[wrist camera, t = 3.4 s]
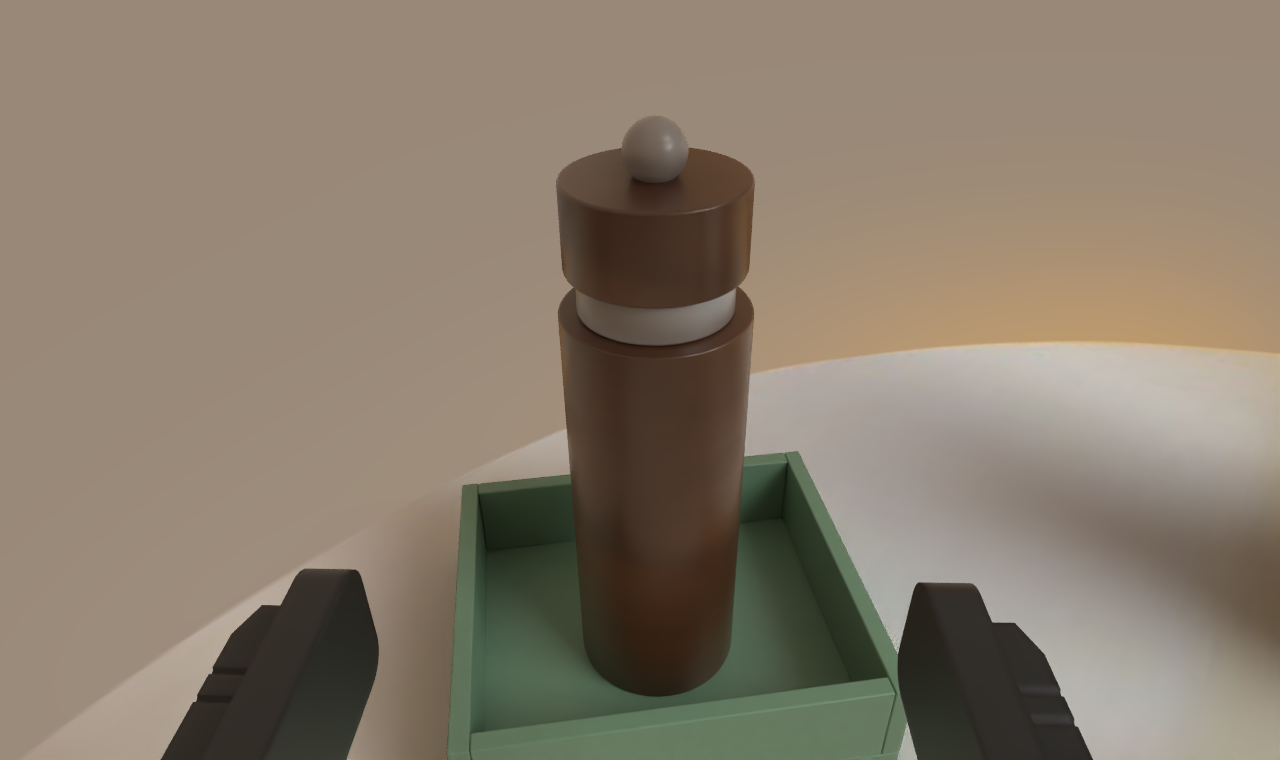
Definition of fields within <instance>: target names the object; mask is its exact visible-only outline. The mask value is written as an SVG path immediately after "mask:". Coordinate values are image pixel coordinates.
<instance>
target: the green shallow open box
mask: <svg viewBox="0 0 1280 760" xmlns="http://www.w3.org/2000/svg"><path fill="white" fill-rule="evenodd" d="M897 664H898V654H897V652H896V650H895V648H894V646H893V644H892V642H891V640H890V638H889V636H888V634H887V632H886V630H885V628H884V626H883V624H882V621H881V619H880V617H879V615H878V613H877V611H876V609H875V607H874V605H873V603H872V601H871V599H870V597H869V595H868V593H867V591H866V589H865V587H864V585H863V583H862V581H861V579H860V577H859V575H858V572H857V570H856V568H855V566H854V564H853V562H852V560H851V558H850V556H849V554H848V552H847V550H846V548H845V546H844V544H843V542H842V540H841V538H840V536H839V534H838V532H837V530H836V528H835V526H834V524H833V521H832V519H831V517H830V515H829V513H828V511H827V509H826V507H825V505H824V503H823V501H822V499H821V497H820V495H819V493H818V491H817V489H816V487H815V485H814V483H813V481H812V479H811V477H810V475H809V473H808V470H807V468H806V466H805V464H804V462H803V460H802V458H801V456H800V454H799V452H797V451H796V452H787V453H785V454H784V453H777V454H767V455H757V456H747V457H744V465H743V479H742V493H741V508H740V522H739V536H738V551H737V565H736V579H735V594H734V608H733V622H732V637H731V646H730V650H729V653H728V656H727V658H726V660H725V662H724V664H723V665H722V667H721V668H720V669H719V671H718V672H717V673H716V674H715V675H714V676H713V677H712V678H710V679H709V680H708V681H707V682H705V683H704V684H702V685H701V686H699V687H697V688H695V689H693V690H690V691H688V692H685V693H681V694H677V695H672V696H663V697H653V696H644V695H638V694H634V693H631V692H628V691H625V690H623V689H620V688H618V687H617V686H615V685H613V684H611V683H610V682H609V681H607V680H606V679H605V678H603V677H602V676H601V675H600V674H599V673H598V672H597V670H596V669H595V668H594V666H593V665H592V664H591V662H590V660H589V658H588V656H587V653H586V651H585V646H584V641H583V628H582V615H581V602H580V590H579V577H578V564H577V551H576V539H575V526H574V513H573V500H572V488H571V475H561V476H551V477H541V478H532V479H522V480H512V481H502V482H492V483H482V484H479V486H478V484H470V485H463V486H462V501H461V518H460V535H459V552H458V569H457V587H456V604H455V621H454V638H453V655H452V672H451V689H450V706H449V723H448V741H447V758H448V760H897V758H898V754H899V752H898V751H899V750H900V747H901V743H902V739H903V735H904V732H905V728H906V724H907V718H906V714H905V711H904V707H903V703H902V699H901V695H900V690H899V683H898V670H897Z"/></svg>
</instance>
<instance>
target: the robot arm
mask: <svg viewBox="0 0 1280 760" xmlns="http://www.w3.org/2000/svg"><path fill="white" fill-rule="evenodd" d="M378 656H379V646H378V638H377V634H376V630H375V626H374V623H373V619H372V615H371V611H370V608H369V604H368V600H367V596H366V593H365V589H364V585H363V582H362V578H361V575H360V574H359V572H358V571H357V570H350V569H303V570H301V571H300V572H299V573H298V574H297V576H296V577H295V579H294V581H293V583H292V584H291V586H290V588H289V590H288V592H287V594H286V596H285V598H284V600H283V602H282V604H281V606H274V605H262V606H261V607H260V608H259V609H258V610H256V611H255V612H254V613H253V614H252V615H251V616H250V617H249V618H248V619H247V620H246V621H245V622H244V623H243V624H242V625H241V626H239V627H238V628H237V629H236V630H235V631H234V632H233V633H232V634H231V636H230V637H229V639H228V641H227V643H226V645H225V646H224V648H223V650H222V652H221V653H220V655H219V657H218V659H217V661H216V662H215V664H214V666H213V672H212V674H209V675H208V677H207V678H206V680H205V682H204V684H203V685H202V687H201V689H200V691H199V693H198V694H197V701H196V702H193V703H192V705H191V707H190V709H189V710H188V712H187V714H186V716H185V717H184V719H183V721H182V723H181V725H180V726H179V728H178V730H177V732H176V733H175V735H174V737H173V739H172V741H171V742H170V744H169V746H168V748H167V749H166V751H165V753H164V755H163V757H162V758H161V760H346V759H347V756H348V753H349V750H350V747H351V745H352V742H353V739H354V736H355V734H356V731H357V728H358V725H359V722H360V720H361V717H362V714H363V711H364V708H365V706H366V703H367V700H368V697H369V694H370V692H371V689H372V686H373V683H374V680H375V676H376V672H377V666H378ZM897 670H898V683H899V690H900V695H901V699H902V703H903V707H904V711H905V714H906V718H907V722H908V726H909V729H910V733H911V737H912V740H913V744H914V748H915V752H916V755H917V759H918V760H1093V759H1092V757H1091V754H1090V752H1089V750H1088V748H1087V746H1086V744H1085V741H1084V739H1083V737H1082V735H1081V733H1080V731H1079V728H1078V727H1075V725H1074V718H1073V715H1072V713H1071V711H1070V709H1069V707H1068V705H1067V702H1066V700H1065V698H1064V697H1062V696H1061V694H1060V690H1061V689H1060V687H1059V685H1058V683H1057V681H1056V679H1055V676H1054V674H1053V672H1052V670H1051V668H1050V666H1049V663H1048V661H1047V659H1046V657H1045V655H1044V653H1043V652H1042V651H1041V650H1040V649H1039V648H1038V647H1037V646H1036V645H1035V644H1034V643H1033V642H1032V641H1031V640H1030V639H1029V638H1028V636H1027V635H1026V634H1025V633H1024V632H1023V631H1022V630H1021V629H1020V628H1019V627H1018V626H1017V625H1016V624H1015V623H992V621H991V619H990V616H989V614H988V611H987V609H986V607H985V604H984V602H983V599H982V597H981V595H980V593H979V591H978V589H977V588H976V586H975V585H973V584H970V583H922V582H919V583H917V584H916V586H915V588H914V591H913V595H912V599H911V603H910V607H909V611H908V615H907V619H906V623H905V627H904V631H903V636H902V640H901V644H900V648H899V653H898V664H897Z"/></svg>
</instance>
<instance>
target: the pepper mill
mask: <svg viewBox="0 0 1280 760" xmlns="http://www.w3.org/2000/svg"><path fill="white" fill-rule="evenodd" d="M754 186H755V180H754V177H753V174H752V173H751V170H750V169H748V167H747V166H745V165H744V164H742V163H741V162H739V161H737V160H735V159H733V158H730V157H728V156H725V155H722V154H718V153H715V152H711V151H706V150H700V149H694V148H688V141H687V138H686V136H685V134H684V132H683V131H682V129H681V128H680V127H679V126H678V125H677V124H676V123H675V122H674V121H672V120H670V119H668V118H665V117H662V116H649V117H645V118H642V119H640V120H638V121H637V122H636V123H634V124H633V125H632V126H631V127H630V128H629V129H628V131H627V133H626V134H625V136H624V139H623V143H622V148H620V149H614V150H609V151H604V152H600V153H596V154H593V155H589V156H586V157H584V158H581V159H579V160H577V161H574V162H572V163H571V164H569V165H568V166H566V167H565V168H564V169H563V170H562V171H561V172H560V173H559V175H558V178H557V181H556V188H557V203H558V216H559V231H560V244H561V258H562V270H563V273H564V276H565V278H566V279H567V281H568V282H569V283H570V284H571V285H572V286H573V287H574V288H573V289H571V290H570V291H569V292H568V293H567V294H566V295H565V297H564V298H563V300H562V301H561V303H560V306H559V309H558V321H559V335H560V346H561V360H562V373H563V386H564V398H565V411H566V422H567V423H566V424H567V437H568V449H569V462H570V475H571V488H572V500H573V513H574V526H575V539H576V551H577V564H578V577H579V590H580V602H581V615H582V628H583V641H584V646H585V651H586V653H587V656H588V658H589V660H590V662H591V664H592V665H593V666H594V668H595V669H596V670H597V672H598V673H599V674H600V675H601V676H602V677H603V678H605V679H606V680H607V681H609V682H610V683H611V684H613V685H615V686H617V687H618V688H620V689H623V690H625V691H628V692H631V693H634V694H638V695H644V696H653V697H663V696H672V695H677V694H681V693H685V692H688V691H690V690H693V689H695V688H697V687H699V686H701V685H702V684H704V683H705V682H707V681H708V680H709V679H710V678H712V677H713V676H714V675H715V674H716V673H717V672H718V671H719V669H720V668H721V667H722V665H723V664H724V662H725V660H726V658H727V656H728V653H729V650H730V646H731V637H732V622H733V608H734V594H735V579H736V565H737V551H738V536H739V522H740V508H741V493H742V479H743V465H744V450H745V436H746V422H747V407H748V393H749V379H750V364H751V349H752V335H753V320H754V309H753V305H752V303H751V300H750V299H749V297H748V296H747V295H746V293H745V292H744V291H743V290H742V289H740V288H739V287H738V286H739V285H740V284H741V283H742V281H743V280H744V279H745V277H746V275H747V273H748V271H749V264H750V248H751V232H752V218H753V217H752V216H753V202H754Z"/></svg>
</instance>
